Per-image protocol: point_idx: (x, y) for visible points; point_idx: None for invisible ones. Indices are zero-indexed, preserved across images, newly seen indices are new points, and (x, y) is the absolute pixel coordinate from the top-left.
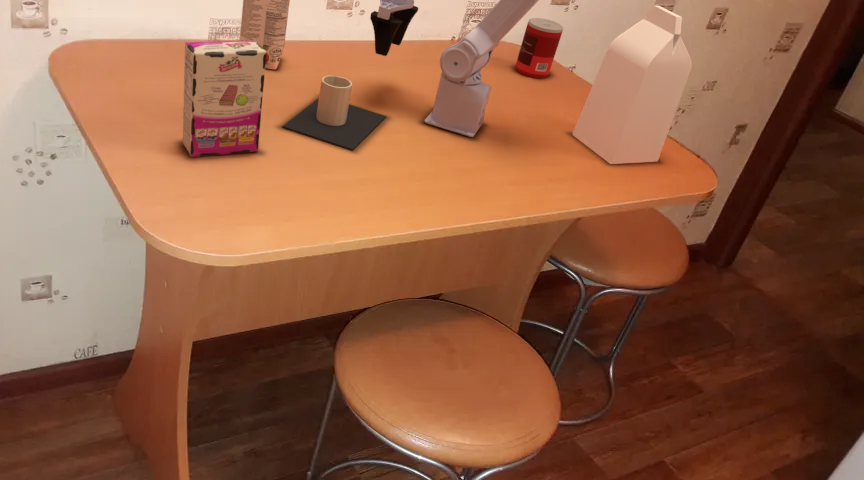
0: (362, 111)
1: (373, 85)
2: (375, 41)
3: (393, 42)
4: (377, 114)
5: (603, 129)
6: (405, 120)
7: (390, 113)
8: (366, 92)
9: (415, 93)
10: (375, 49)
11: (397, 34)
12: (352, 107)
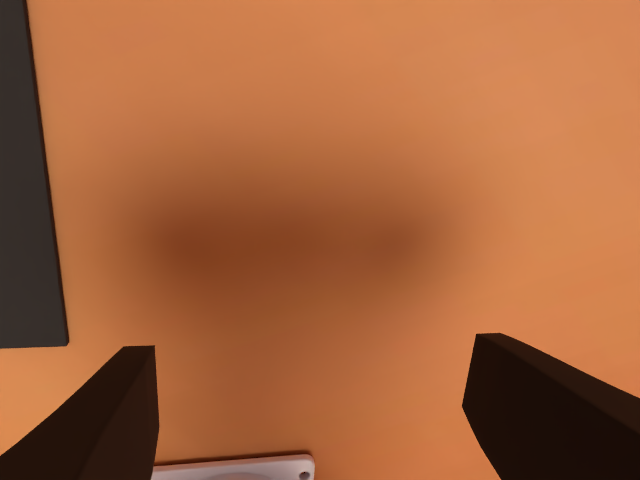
0: (17, 246)
1: (398, 174)
2: (64, 407)
3: (477, 371)
4: (47, 312)
5: None
6: None
7: (134, 340)
8: (290, 175)
9: (427, 345)
10: (106, 362)
11: (515, 439)
12: (18, 190)
